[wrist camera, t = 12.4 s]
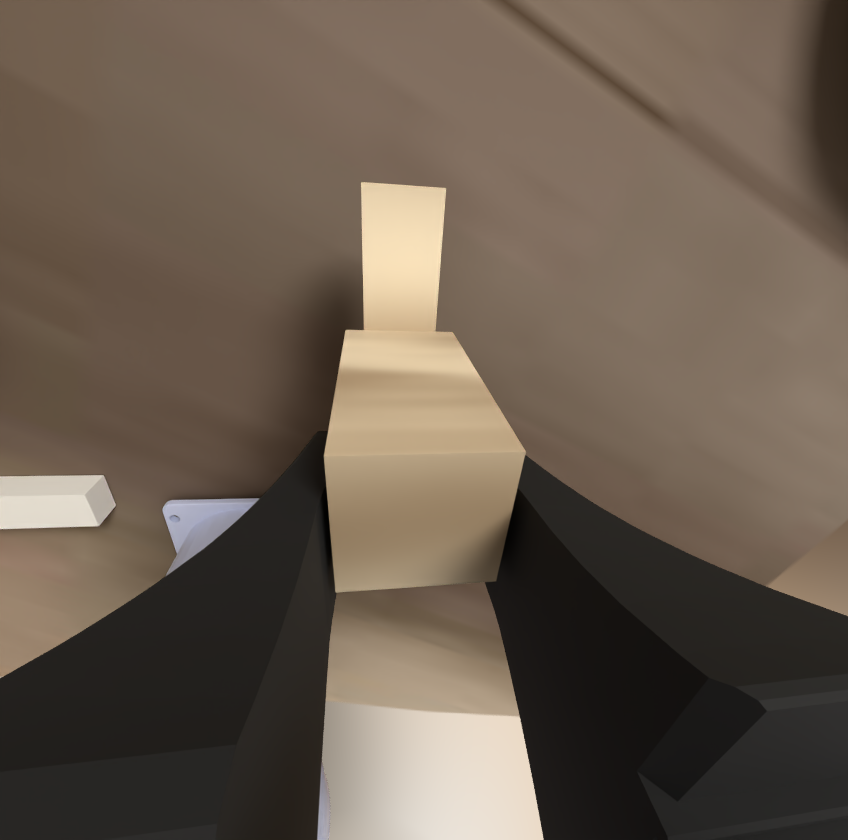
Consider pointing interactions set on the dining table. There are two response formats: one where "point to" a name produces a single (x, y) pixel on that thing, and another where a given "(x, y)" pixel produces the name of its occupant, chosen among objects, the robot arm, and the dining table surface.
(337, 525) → the beige stepped block
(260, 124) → the dining table surface
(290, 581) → the robot arm
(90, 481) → the frame
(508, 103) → the dining table surface
